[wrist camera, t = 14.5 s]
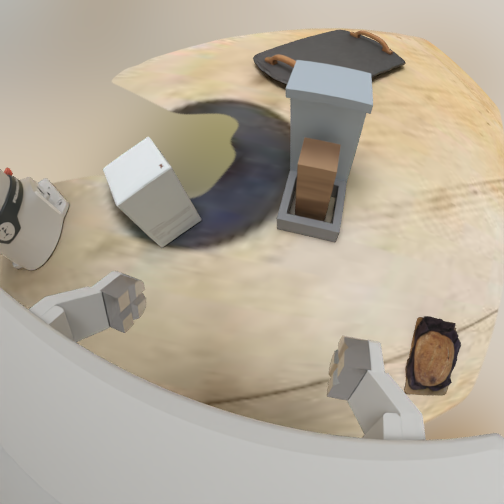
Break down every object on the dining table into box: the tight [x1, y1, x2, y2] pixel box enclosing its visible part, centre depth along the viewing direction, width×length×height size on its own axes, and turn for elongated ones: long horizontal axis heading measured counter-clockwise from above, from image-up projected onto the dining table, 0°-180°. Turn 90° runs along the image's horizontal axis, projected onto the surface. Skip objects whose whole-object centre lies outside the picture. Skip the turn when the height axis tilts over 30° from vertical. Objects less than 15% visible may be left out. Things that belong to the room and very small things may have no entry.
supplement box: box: [103, 137, 202, 247], centre depth 34 cm, size 7×7×13 cm
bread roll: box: [404, 316, 461, 395], centre depth 27 cm, size 11×8×4 cm
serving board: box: [253, 30, 405, 84], centre depth 49 cm, size 39×23×6 cm, turn 127°
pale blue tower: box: [277, 60, 373, 242], centre depth 31 cm, size 14×9×17 cm, turn 164°
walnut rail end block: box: [295, 137, 341, 222], centre depth 32 cm, size 4×4×12 cm
